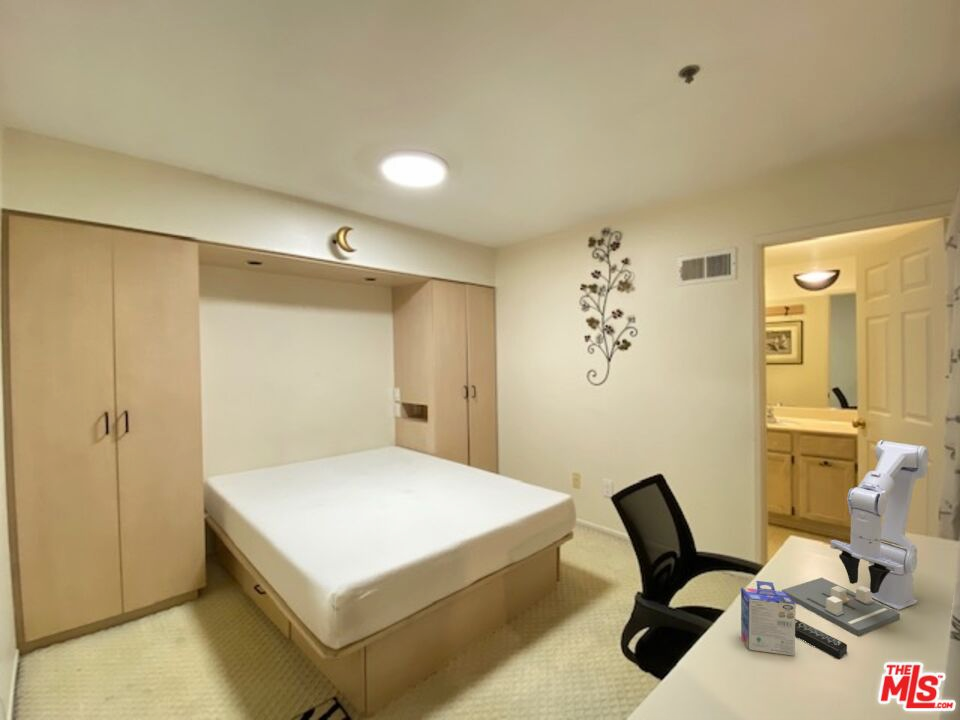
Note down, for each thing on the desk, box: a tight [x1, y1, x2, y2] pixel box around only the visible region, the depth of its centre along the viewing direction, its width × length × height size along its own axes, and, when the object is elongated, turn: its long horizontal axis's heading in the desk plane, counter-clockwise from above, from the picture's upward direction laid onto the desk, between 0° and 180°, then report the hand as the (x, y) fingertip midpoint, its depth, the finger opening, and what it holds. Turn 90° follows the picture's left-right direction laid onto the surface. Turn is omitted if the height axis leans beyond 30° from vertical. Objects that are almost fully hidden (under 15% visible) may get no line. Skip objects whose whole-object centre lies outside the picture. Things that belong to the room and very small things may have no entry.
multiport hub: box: [795, 618, 848, 660], centre depth 100 cm, size 4×11×2 cm, turn 30°
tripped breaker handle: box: [831, 585, 848, 604], centre depth 113 cm, size 3×3×3 cm
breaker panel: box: [781, 577, 901, 637], centre depth 113 cm, size 18×18×2 cm
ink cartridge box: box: [740, 580, 797, 657], centre depth 98 cm, size 10×6×14 cm, turn 78°
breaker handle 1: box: [824, 596, 844, 616], centre depth 108 cm, size 3×3×3 cm
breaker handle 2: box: [854, 585, 875, 605], centre depth 113 cm, size 3×3×3 cm
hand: (863, 587), depth 107 cm, fingers open, 4 cm apart
